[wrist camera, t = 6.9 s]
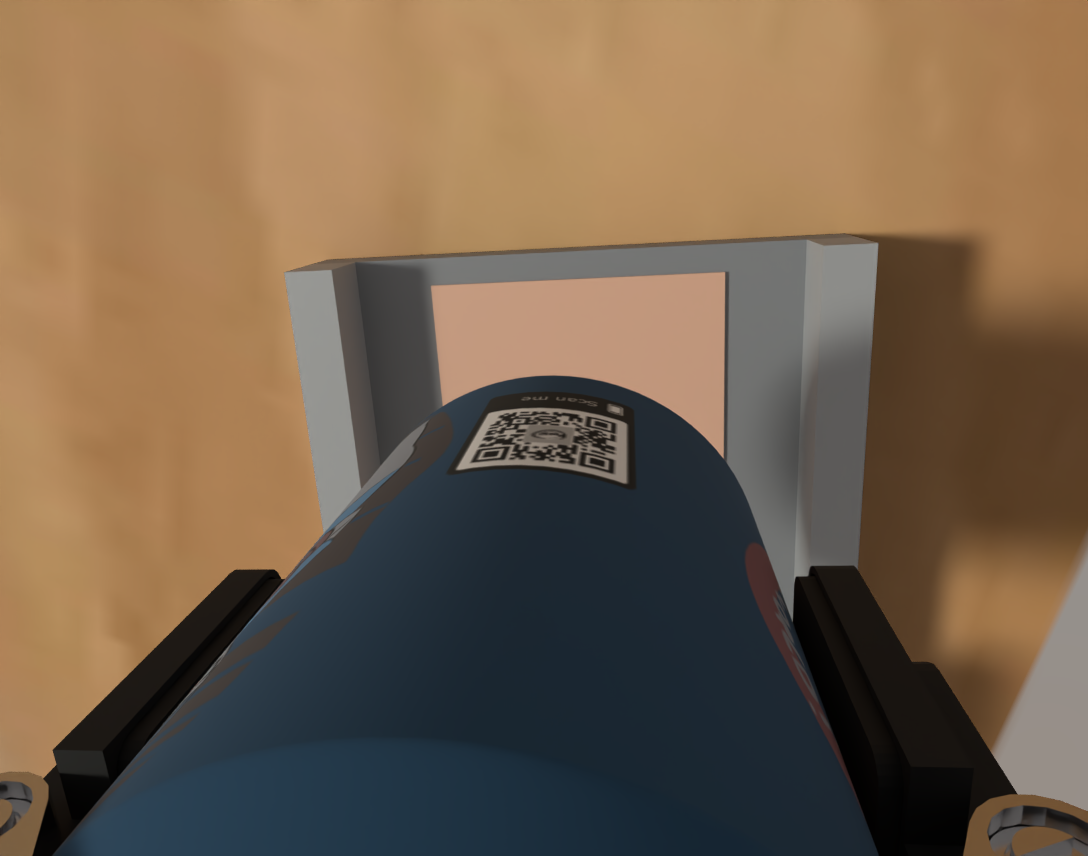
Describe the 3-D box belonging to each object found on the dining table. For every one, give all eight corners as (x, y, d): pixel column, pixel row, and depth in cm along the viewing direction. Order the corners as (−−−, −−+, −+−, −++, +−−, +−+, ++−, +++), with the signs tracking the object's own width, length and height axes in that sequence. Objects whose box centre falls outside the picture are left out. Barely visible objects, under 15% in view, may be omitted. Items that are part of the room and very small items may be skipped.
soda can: (723, 711, 16) (959, 2010, 5) (383, 674, 17) (-148, 1760, 5) (773, 373, 14) (1416, 1229, 3) (383, 343, 15) (-504, 944, 3)
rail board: (327, 259, 23) (139, 314, 14) (844, 233, 21) (998, 276, 12) (391, 739, 27) (282, 1004, 19) (818, 746, 26) (915, 1039, 17)
